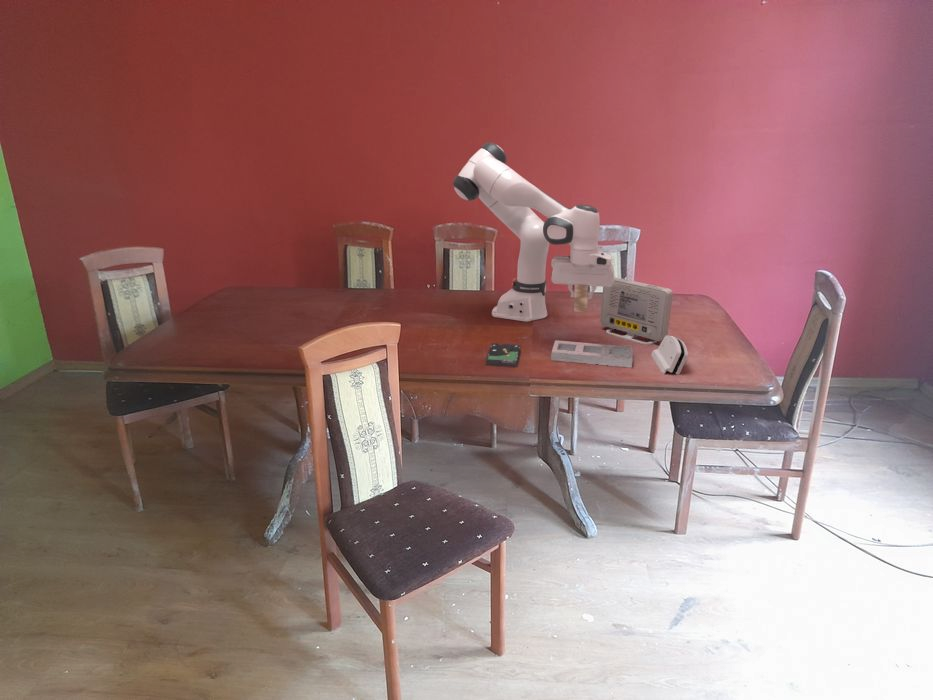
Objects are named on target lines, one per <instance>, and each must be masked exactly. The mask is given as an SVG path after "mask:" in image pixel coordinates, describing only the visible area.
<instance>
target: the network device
mask: <svg viewBox="0 0 933 700" xmlns="http://www.w3.org/2000/svg"><path fill="white" fill-rule="evenodd" d="M673 297H674V292H673V290H672V289H671V288H667V287H662V286H657V285H655V284H654V285H653V284H649V283H644V282H639V281H635V280H629V279H625V278H620V277H616V276H614V284H613V286H612V287H602V297H601V308H600V319H599V321H600V324H601V325H602V326H604V327H607V329H606V330H605V334H607V333H608V334H610V335H609V336H611V335H614V336H613V337H615V336H616V337H615V338H618V337H619V338H618V339H622V338H623V339H622V340H626V341H629V340H630V342H632V341H633V343H635V342H636V344H639V343H640V345H642V344H644V345H643V346H651V344H652V345H654V344H656V343H658V342H661V341H663V339H664V337H665V336H666V335H668V334H669V327H670V319H671V312H672V304H673ZM614 329H616V330H619V331H621V332H624V333H625V332H626V334H625V335H620V334H617V333H613V331H615V330H614ZM612 330H613V331H612ZM609 331H611V332H609ZM608 334H607V335H608ZM668 336H669V335H668ZM637 337H643V338H645V339H646V338H647V339H650V341H647V342H646V341H641V340H637V339H635V338H637ZM632 338H633V339H632ZM657 341H658V342H657Z"/></svg>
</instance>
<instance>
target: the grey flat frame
mask: <svg viewBox="0 0 933 700" xmlns="http://www.w3.org/2000/svg"><path fill="white" fill-rule="evenodd" d="M633 353H634V351H633V346H629V345H628V346H626V345H613V344H604V343H603V344H602V343H590V342H581V341H580V342H579V341H578V342H577V341H570V340H569V341H568V340H567V341H566V340H558V339H556V340H554V343H553V346H552V350H551V355H550V357H551V358H550V361H556V362H566V363H575V364H576V363H578V364H585V363H586V364H589V365H596V364H598V365H600V366H607V365H608V366H609V367H617V368H618V367H620V368H629V369H630V368H631V369H632V368H633V361H634V355H633Z"/></svg>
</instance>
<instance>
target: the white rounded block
mask: <svg viewBox="0 0 933 700" xmlns="http://www.w3.org/2000/svg"><path fill="white" fill-rule="evenodd" d="M650 355H651V358H653V361H654V362H655V363H656V365H657V367H658V368H659V370H660V372H661V373H662V375H665V374H666V372H669V373H674V374H676V375H678V376H679V375H680V374H681V372H682V370H683V368H684V366H685V364H686V361H687V359H688V357H689V352H688V349H687V346H686V344H685V342H684V341H683V340H682V339H680V338H678V337H677V336H672V335H666V336H665V337H664V339H662V340H661V341H660V344H659V345H658V347H657V348H656V349H653V350H652V352H651V354H650Z"/></svg>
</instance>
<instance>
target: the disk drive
mask: <svg viewBox="0 0 933 700" xmlns="http://www.w3.org/2000/svg"><path fill="white" fill-rule="evenodd" d="M520 353H521V344H515V343H514V344H513V343H512V344H511V343H503V344H499V343H498V342H497V343H495V342H493V343H491V344H490V347H489V350H488V354H487V356H486V361H485V362H486V363H485V364H486V366H493V367H495V366H496V367H507V368H509V367H511V368H518V365H519V360H520V358H519V357H520Z"/></svg>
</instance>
